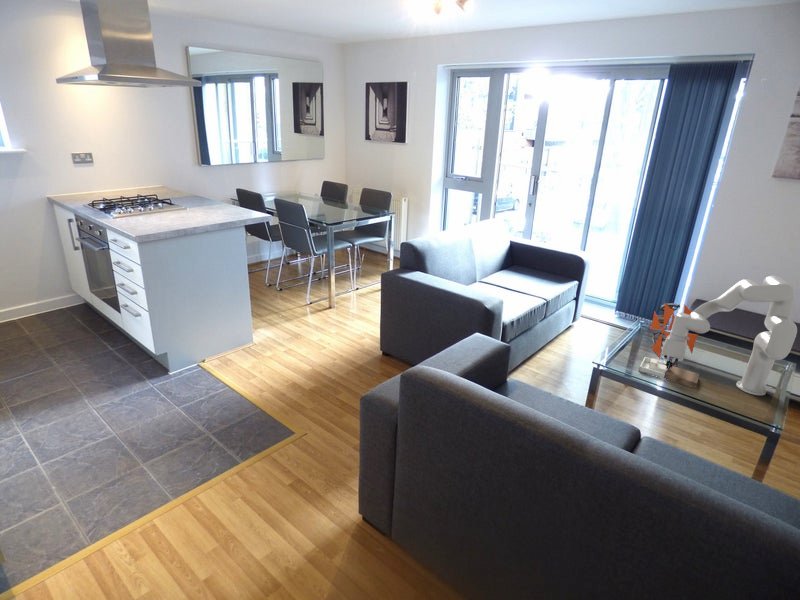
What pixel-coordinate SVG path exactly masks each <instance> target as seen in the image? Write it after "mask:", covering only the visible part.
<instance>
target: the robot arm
mask: <svg viewBox="0 0 800 600" xmlns="http://www.w3.org/2000/svg"><path fill="white" fill-rule="evenodd" d="M794 294H795V289H794V287H793V286H792V285H791V284H790V283H789V282H787V281H786V280H784V279H783V278H782V277H780V276H778V275H769V276H766V277H765V278H764V279H763V281H762V284H758V283H756V282H755V281H754V280H752V279H748V278H746V279H745V278H744V279H741V280H739V281H738V282H736V283H735V284H734V285H732V286H731V287H729V288H728V289H727V290H726V291H724V293H722V294H721V295H720V296H718V297H716V298H715V299H712V300H709V301H706V302H704V303H702V304H700V305H698V307H696V308H695V309H693V310H692V311H693V312H691V313H690V315H688V314H685V313H684V312H677V313H676V314H674V315H675V318H674V322H673V325H672V328H671V331H669V332H670V335H669V336H667V338H665V339H666V340H665V343H664V342H663V347H661V353H660V355H661V357H664V359H665V361H666V362H665V363H666V366H667V367H666V368H667V370H668V369H670V367H671V368H672V366H674V365H673V364H674V363H675V362H678V361H679V362H683V361H684V356H685V354H686V350H687V346H688V344H687V340H689V339H690V338H689V337H687V334H689V332H690V331H691V332H695V333H697V334H705V333H707V332H709V331H710V329H711V324H710V322H709V321H708V318H709V317H711V316H712V315H714V314H716V313H719V312H732V311H733V310H735V309H736V308H737V307H738V306H740V305H741V304H743V303H744V302H748V303H753V304H754V303H755V304H756V303H770V304H769V308H768V311H767V313H766V316H765V318H764V321H763V323H764V326H765V328H766V329H767V330H766V331H762V332H759V333H758V334H757V335H756V337H755V338H754V340H753V341H754V342H753V347H752V350H751V354H750V357H749V359H748V362H747V365H746V368H745V370H744V373H743V375H742V378H741V380H738V381H737V382H736V384H735V385H736V387H737V388H738V389H739V390H741V391H743V392H745V393H747V394H750V395H754V396H759V397H760V396H766V394H767V393H771V394H775V393H776V389H774V388H773V387H771V386H768V385H767V381H768V379H769V376H770V374H771V371H772V369H773V367H774V363H775V361H780V360H784V359H785V358H786V357H788V355H789V354H790V352H791V350H792V348H793V345H794V342H795V340H796V337H797V334H798V327H797V325H796V323H795V322H794V321H793V320H792V319H791V315H792V312H793V309H794V305H795V295H794ZM671 358H672V359H671Z"/></svg>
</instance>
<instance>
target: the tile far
mask: <svg viewBox="0 0 800 600" xmlns="http://www.w3.org/2000/svg"><path fill="white" fill-rule="evenodd" d="M650 359H651V361H650V365H649V368H648V369H651V370H654V371H655V367H656V364H657V361H659V360H658V359H656V358H653V357H652V358H650Z"/></svg>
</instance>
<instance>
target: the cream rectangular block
mask: <svg viewBox="0 0 800 600" xmlns="http://www.w3.org/2000/svg"><path fill="white" fill-rule="evenodd" d="M666 367H667V366H665V365H662V364H658V363H657V364H656V367H655V371H658V372H661V373H664V374H665V375H666V373H667V371H666V369H667V370H668V368H666ZM665 372H666V373H665Z"/></svg>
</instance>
